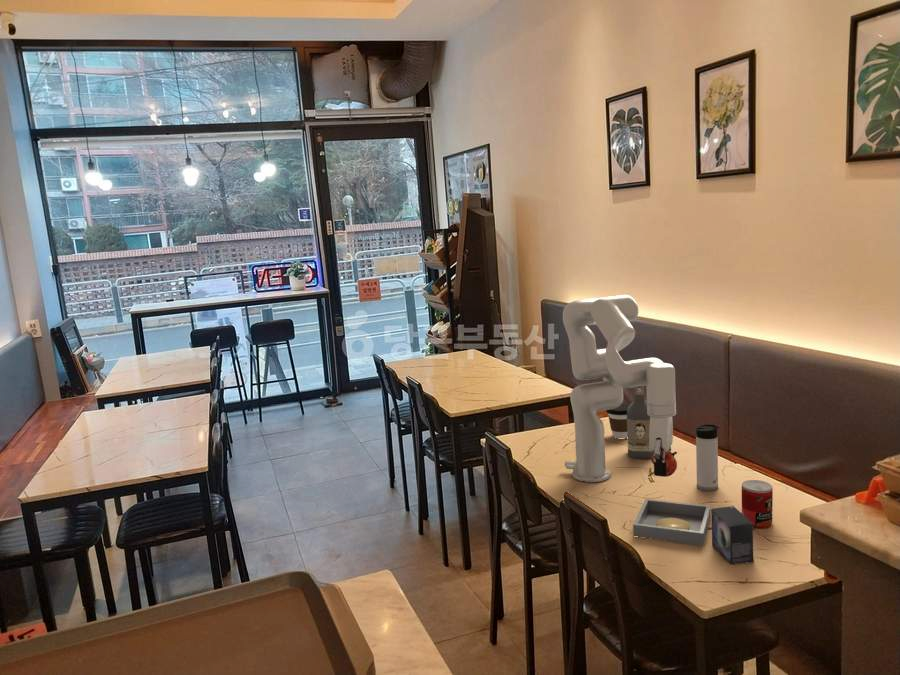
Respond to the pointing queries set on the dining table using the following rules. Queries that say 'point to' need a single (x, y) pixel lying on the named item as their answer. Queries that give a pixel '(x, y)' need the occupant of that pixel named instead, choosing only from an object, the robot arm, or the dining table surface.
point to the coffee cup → (618, 421)
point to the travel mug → (707, 457)
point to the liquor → (638, 427)
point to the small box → (732, 535)
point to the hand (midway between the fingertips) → (663, 470)
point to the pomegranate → (668, 463)
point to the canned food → (757, 502)
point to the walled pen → (673, 521)
